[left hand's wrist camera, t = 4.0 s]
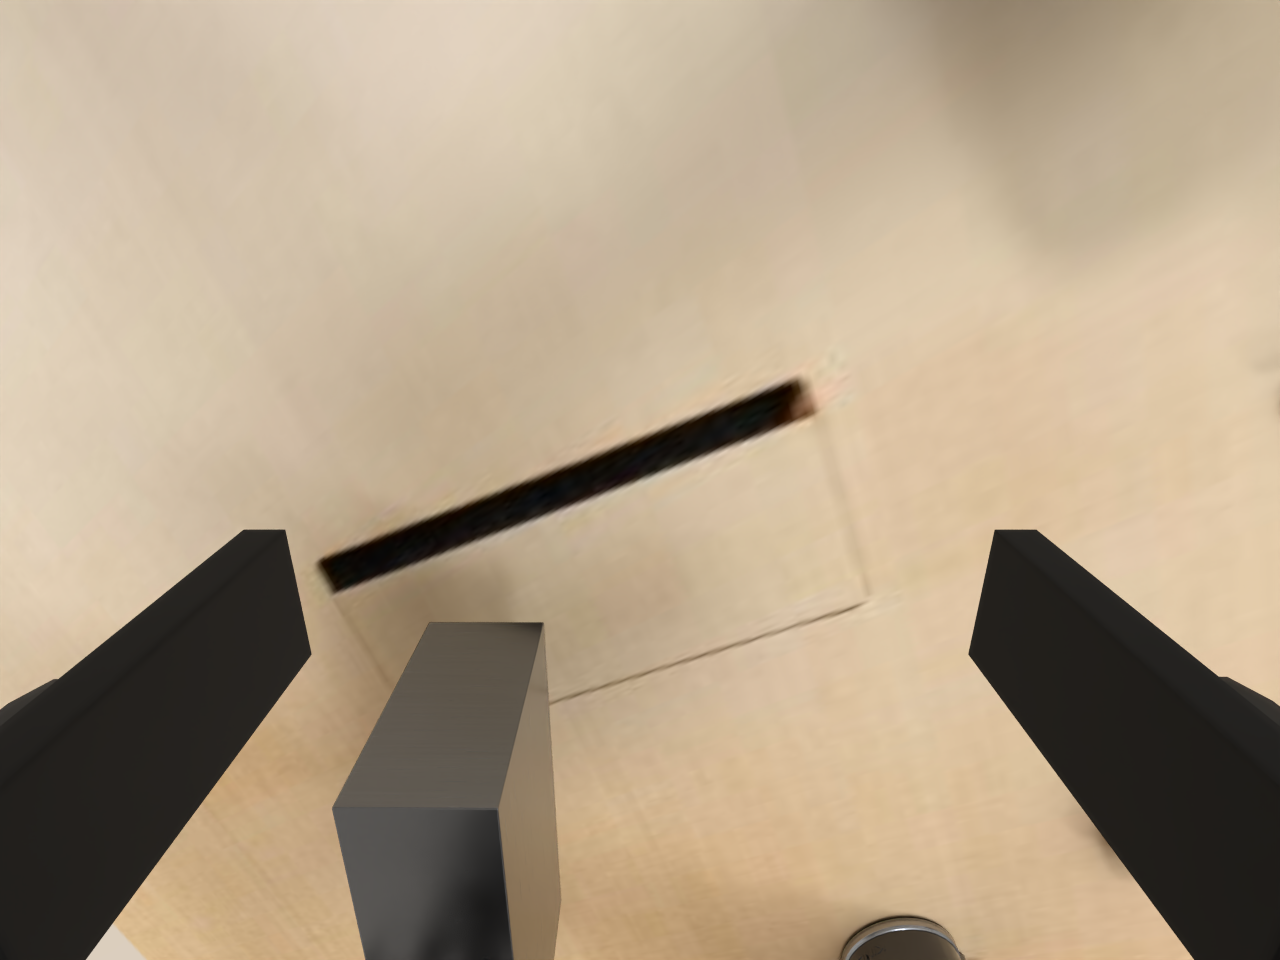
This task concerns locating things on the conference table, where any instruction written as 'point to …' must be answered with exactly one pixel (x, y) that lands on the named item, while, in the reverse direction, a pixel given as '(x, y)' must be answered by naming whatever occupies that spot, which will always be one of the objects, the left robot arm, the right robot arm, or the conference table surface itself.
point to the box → (457, 804)
